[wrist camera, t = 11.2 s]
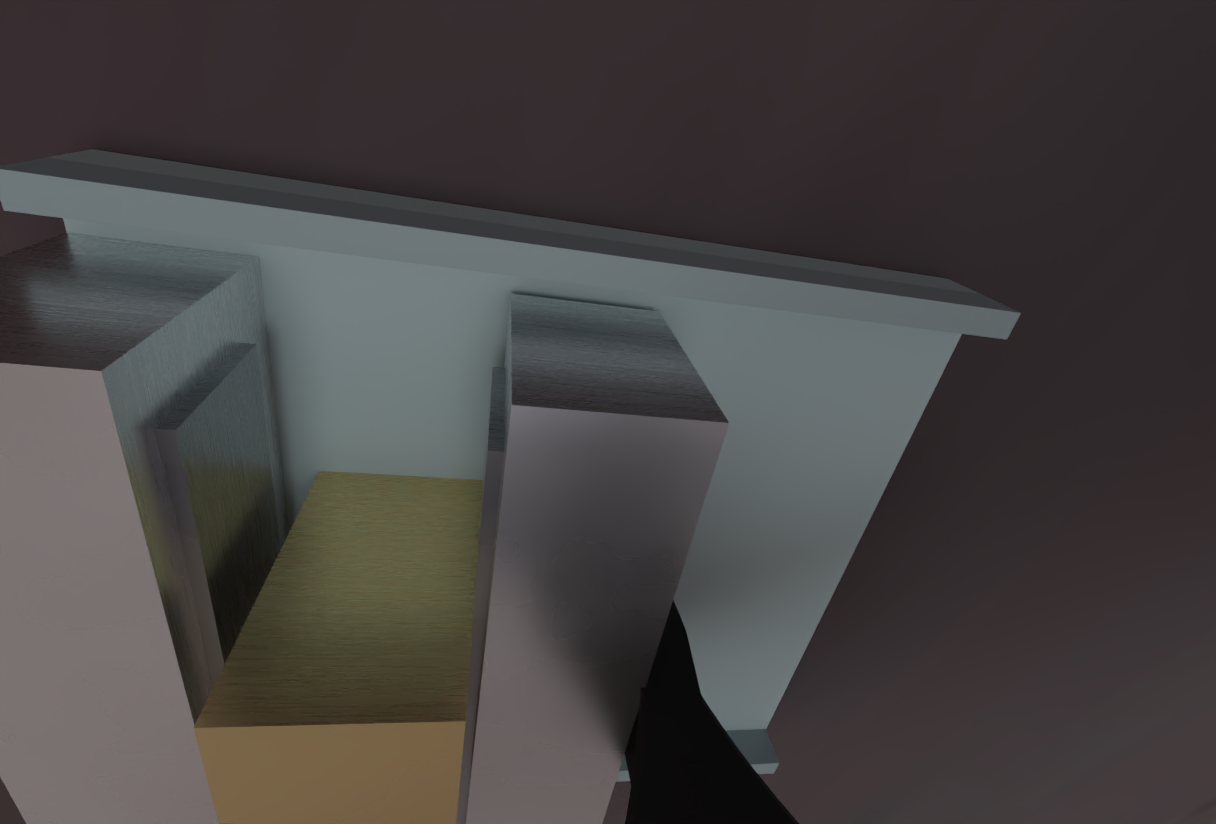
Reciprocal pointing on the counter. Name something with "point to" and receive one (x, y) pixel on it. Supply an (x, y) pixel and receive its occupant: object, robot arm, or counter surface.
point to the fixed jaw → (127, 517)
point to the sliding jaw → (577, 551)
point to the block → (352, 661)
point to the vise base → (476, 342)
